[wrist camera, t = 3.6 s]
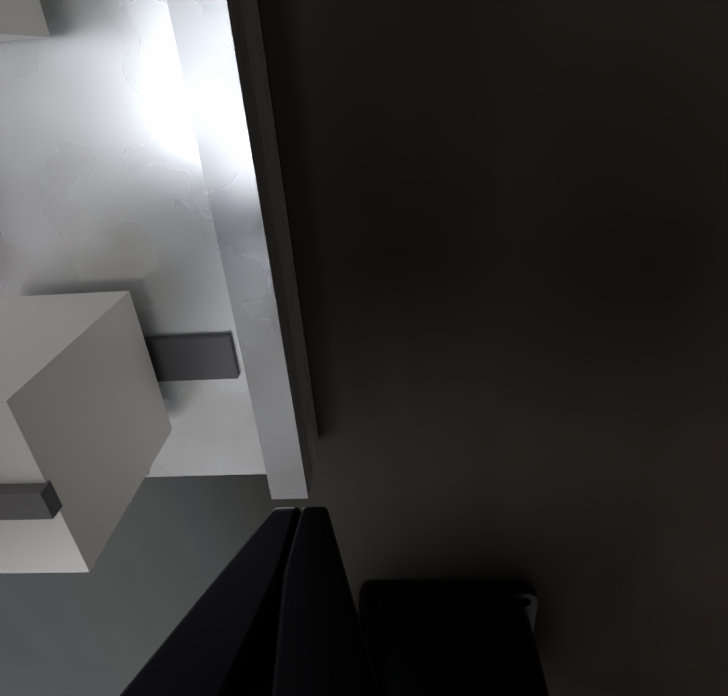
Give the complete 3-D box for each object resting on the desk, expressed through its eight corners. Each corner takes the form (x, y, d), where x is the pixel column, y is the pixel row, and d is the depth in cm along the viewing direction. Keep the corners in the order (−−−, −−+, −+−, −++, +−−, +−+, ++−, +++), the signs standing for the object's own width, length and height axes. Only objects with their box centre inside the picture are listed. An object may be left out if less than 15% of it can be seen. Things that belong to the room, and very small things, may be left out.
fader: (131, 290, 12) (-2, 410, 8) (174, 429, 14) (85, 583, 10) (2, 297, 12) (-192, 417, 8) (62, 432, 14) (-70, 585, 10)
